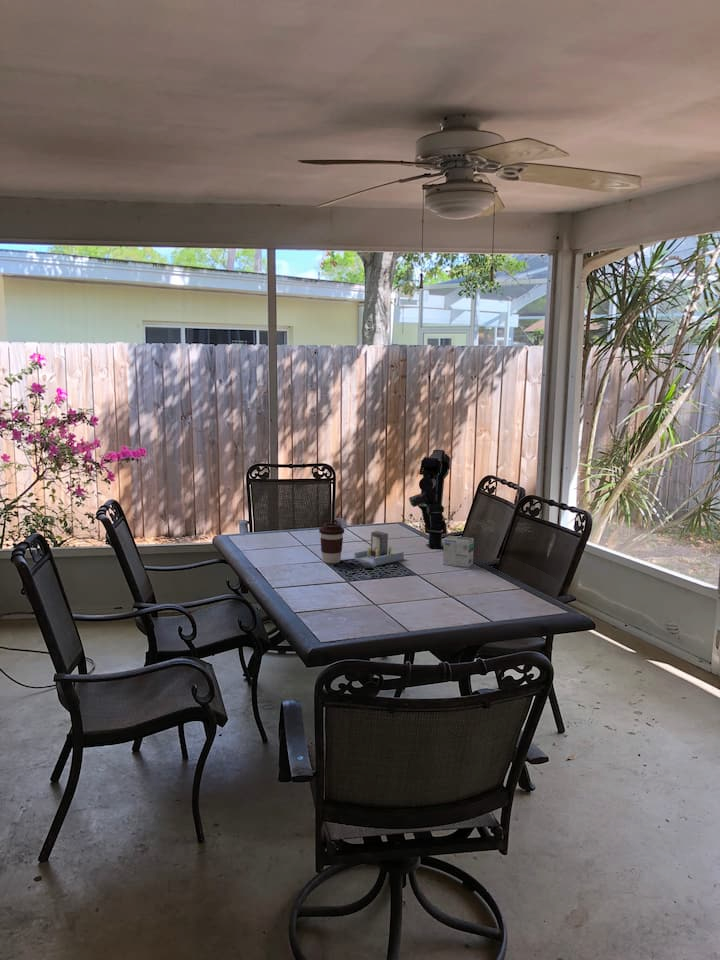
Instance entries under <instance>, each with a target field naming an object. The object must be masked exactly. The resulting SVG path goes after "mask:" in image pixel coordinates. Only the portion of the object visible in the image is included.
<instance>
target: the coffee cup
mask: <svg viewBox="0 0 720 960" xmlns="http://www.w3.org/2000/svg"><path fill="white" fill-rule="evenodd" d="M318 531H319V534H320V539H319V540H320V551H321V560H322V562H323V563H325V564H338V563H340V562H341V561H342V560H341V559H342V557H341V555H342V551H343V543H344V542H343V540H344V538H343V534H344V533H345V528H344V527H342V525H341V524H340V523H336V522H326V523H324V524H323V525H322V526H321V527H319V529H318Z"/></svg>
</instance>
